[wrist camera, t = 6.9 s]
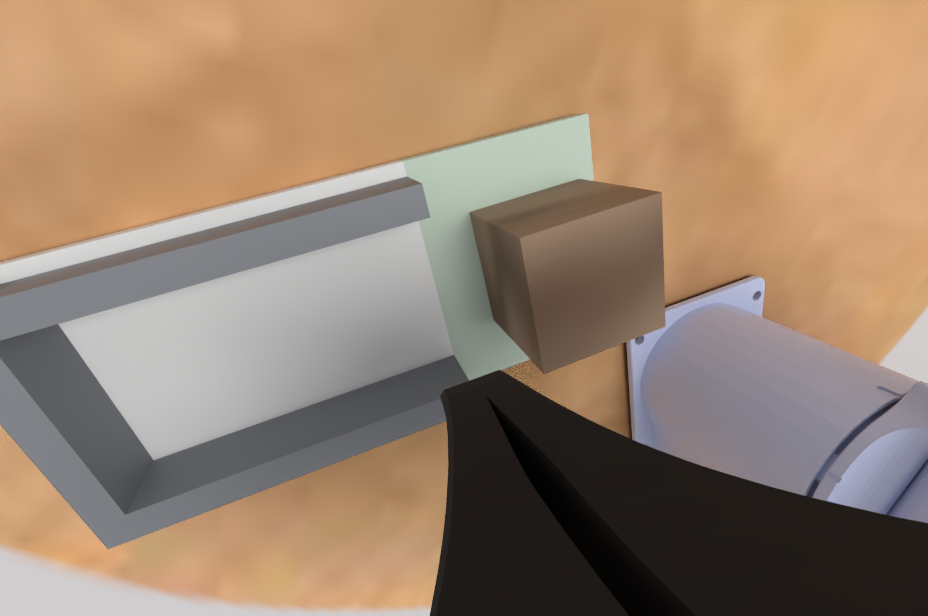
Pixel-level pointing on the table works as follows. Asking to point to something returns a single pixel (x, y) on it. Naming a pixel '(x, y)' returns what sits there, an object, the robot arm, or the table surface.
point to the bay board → (261, 331)
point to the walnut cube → (573, 268)
